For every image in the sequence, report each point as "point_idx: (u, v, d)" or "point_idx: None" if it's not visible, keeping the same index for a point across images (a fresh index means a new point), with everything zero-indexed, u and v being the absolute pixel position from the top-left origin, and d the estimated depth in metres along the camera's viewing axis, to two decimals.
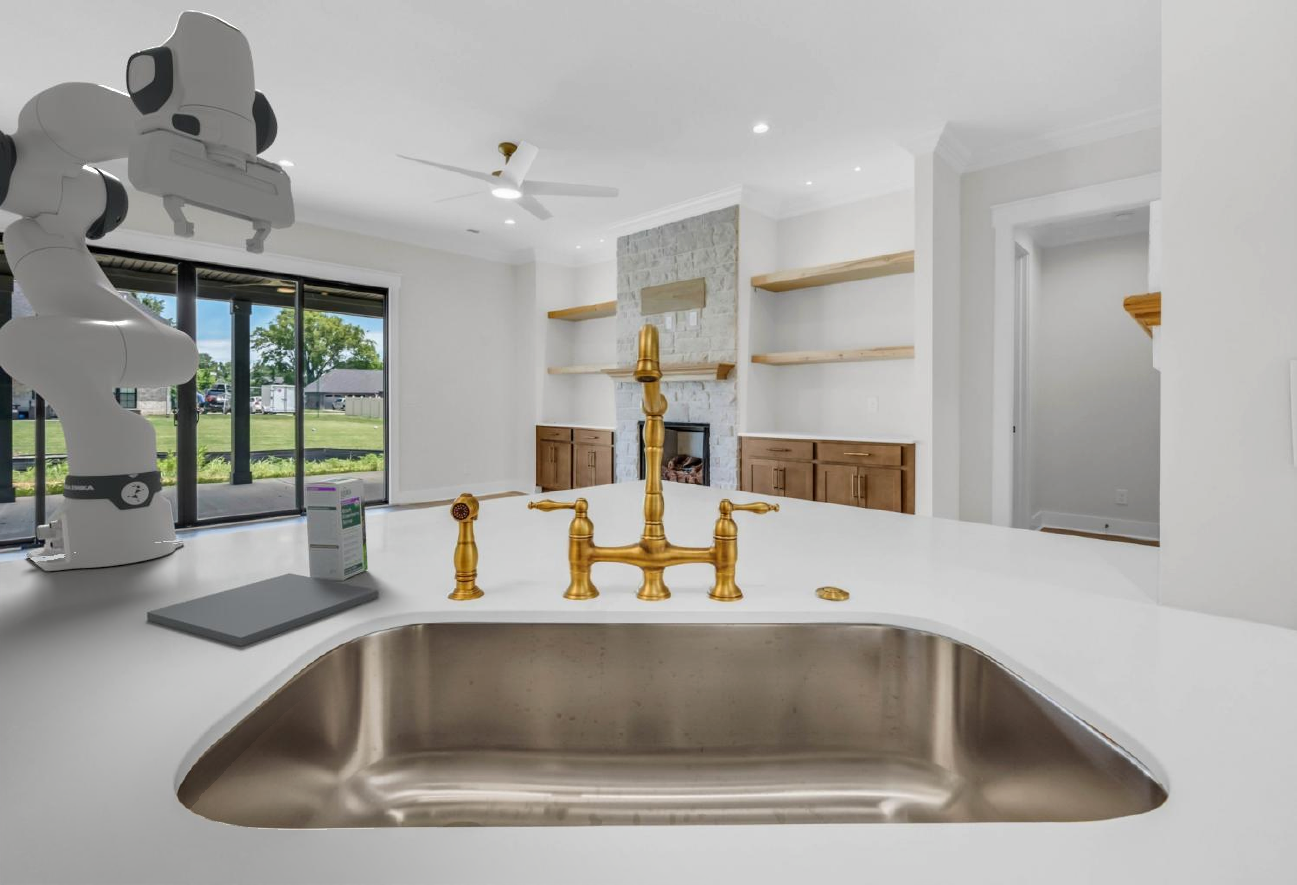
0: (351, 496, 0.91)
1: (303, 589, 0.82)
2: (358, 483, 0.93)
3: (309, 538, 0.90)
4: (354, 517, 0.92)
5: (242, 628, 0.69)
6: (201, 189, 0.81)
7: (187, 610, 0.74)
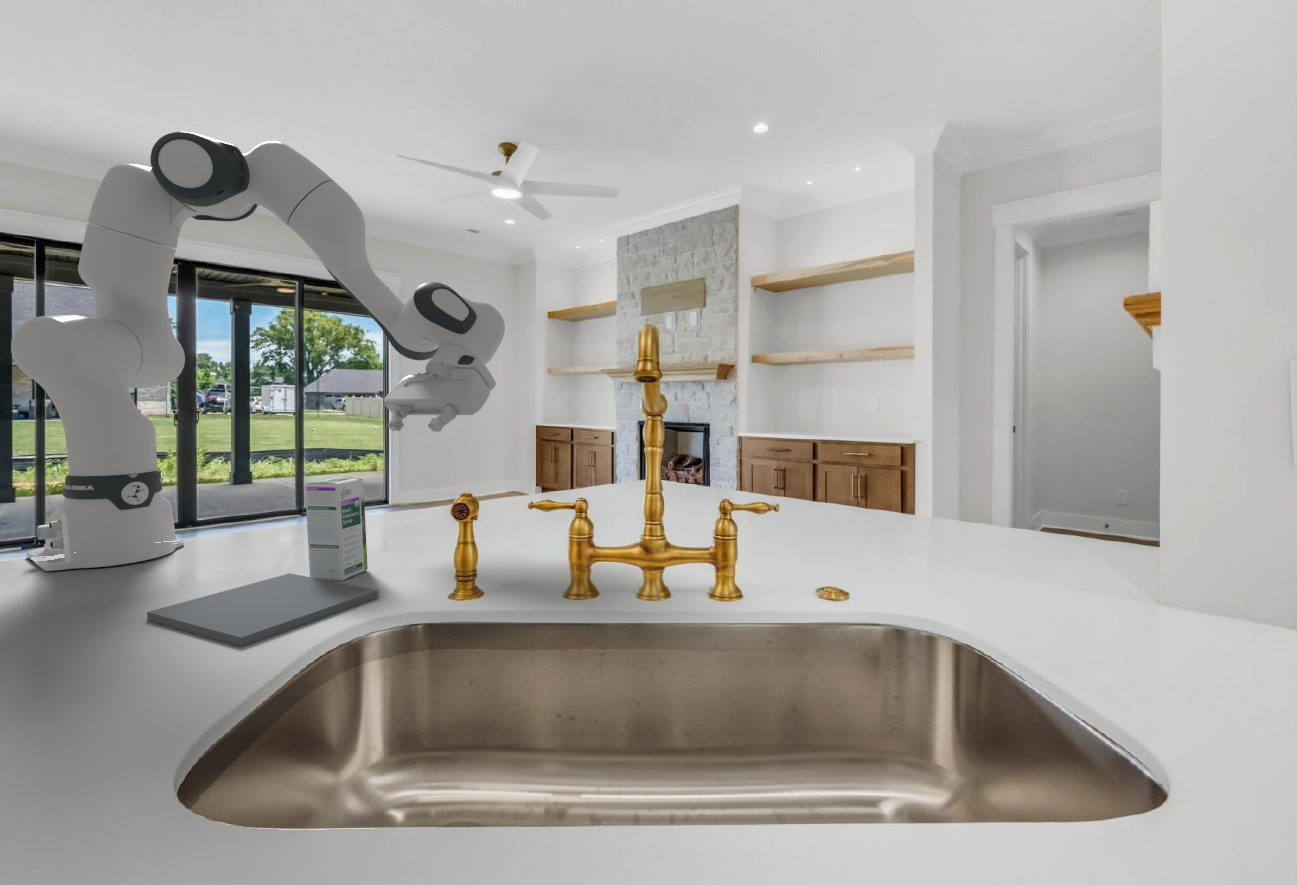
0: (351, 496, 0.91)
1: (303, 589, 0.82)
2: (358, 483, 0.93)
3: (309, 538, 0.90)
4: (354, 517, 0.92)
5: (242, 628, 0.69)
6: None
7: (187, 610, 0.74)
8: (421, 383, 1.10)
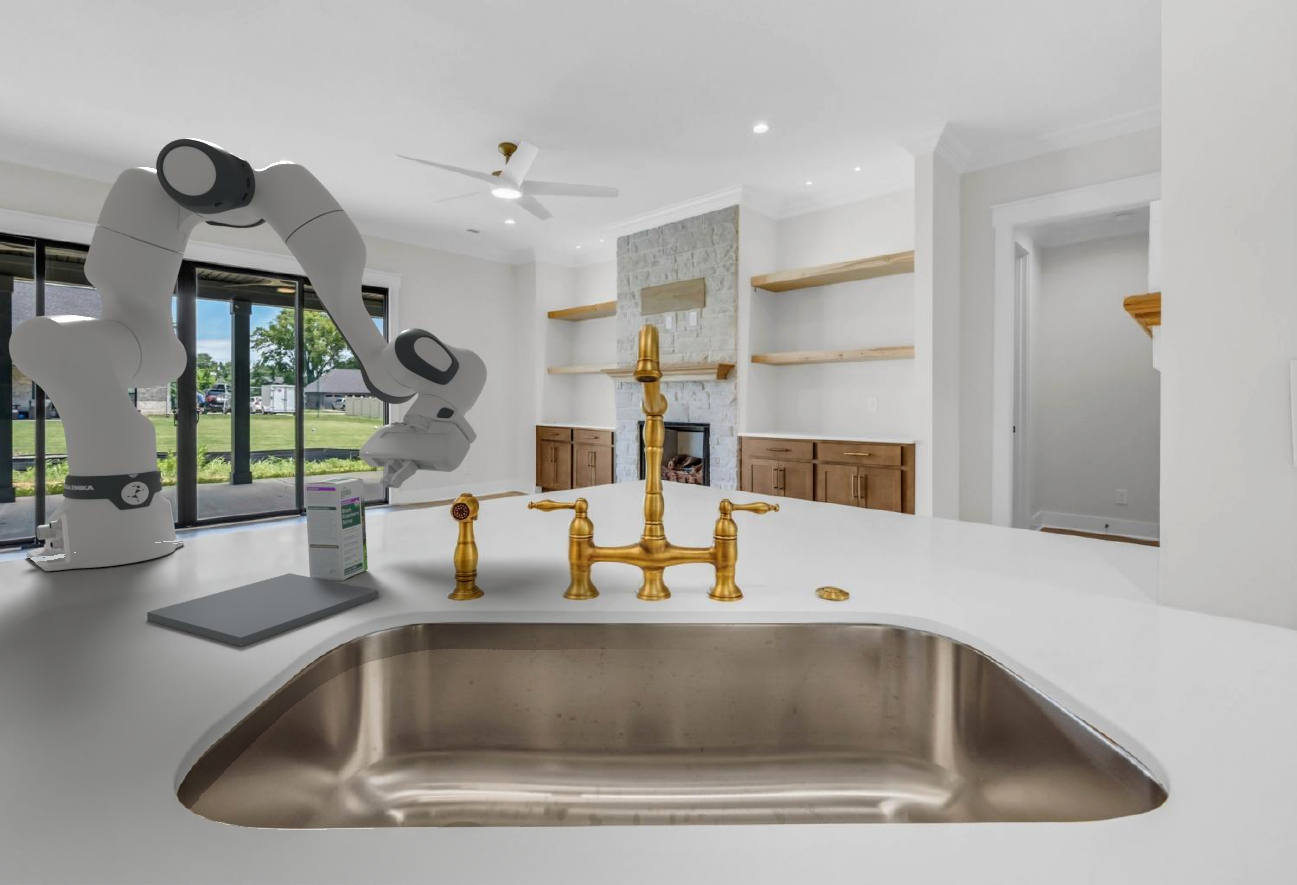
0: (351, 496, 0.91)
1: (303, 589, 0.82)
2: (358, 483, 0.93)
3: (309, 538, 0.90)
4: (354, 517, 0.92)
5: (242, 628, 0.69)
6: None
7: (187, 610, 0.74)
8: (398, 435, 1.07)
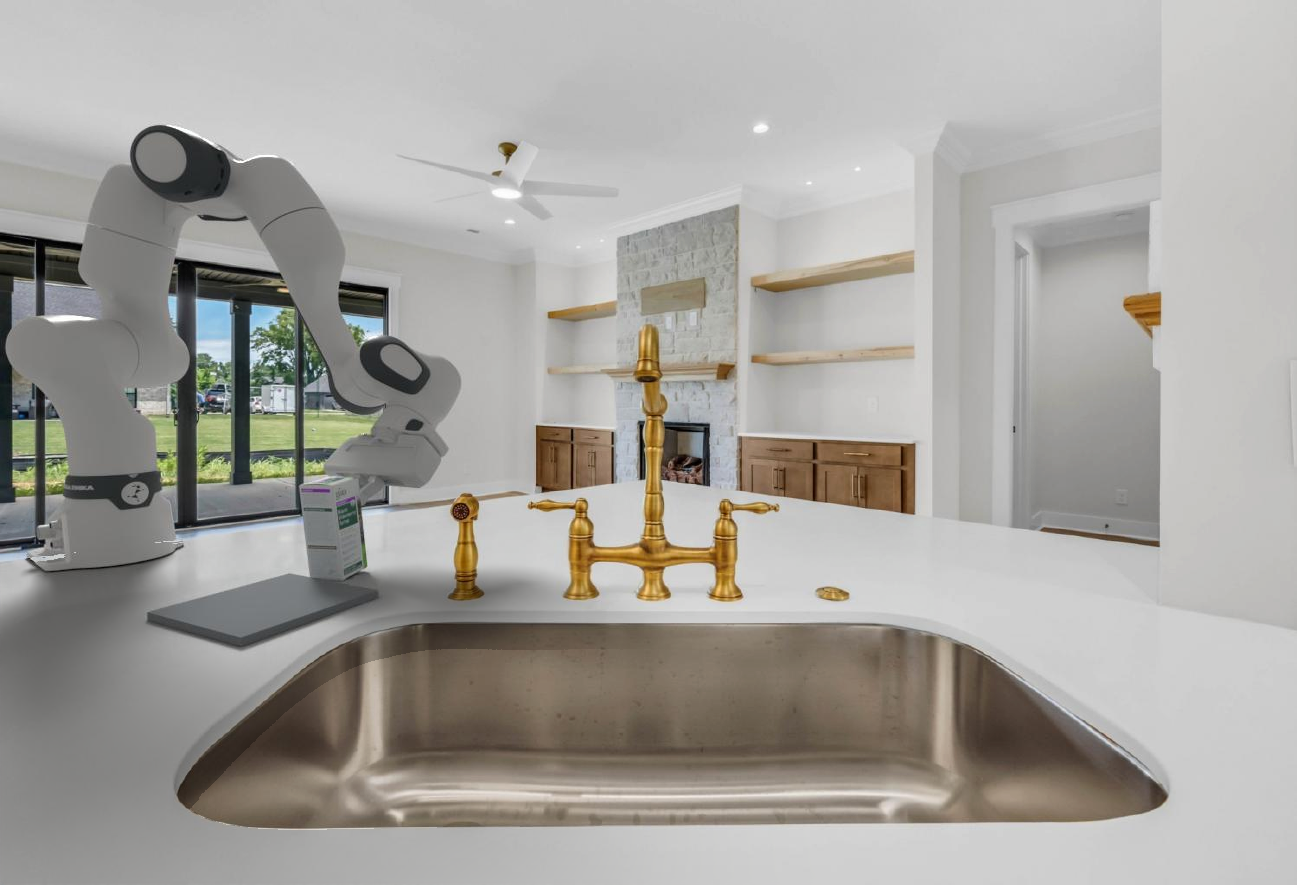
0: (346, 496, 0.90)
1: (303, 589, 0.82)
2: (353, 482, 0.92)
3: (307, 539, 0.90)
4: (351, 517, 0.91)
5: (242, 628, 0.69)
6: None
7: (187, 610, 0.74)
8: (365, 448, 1.00)
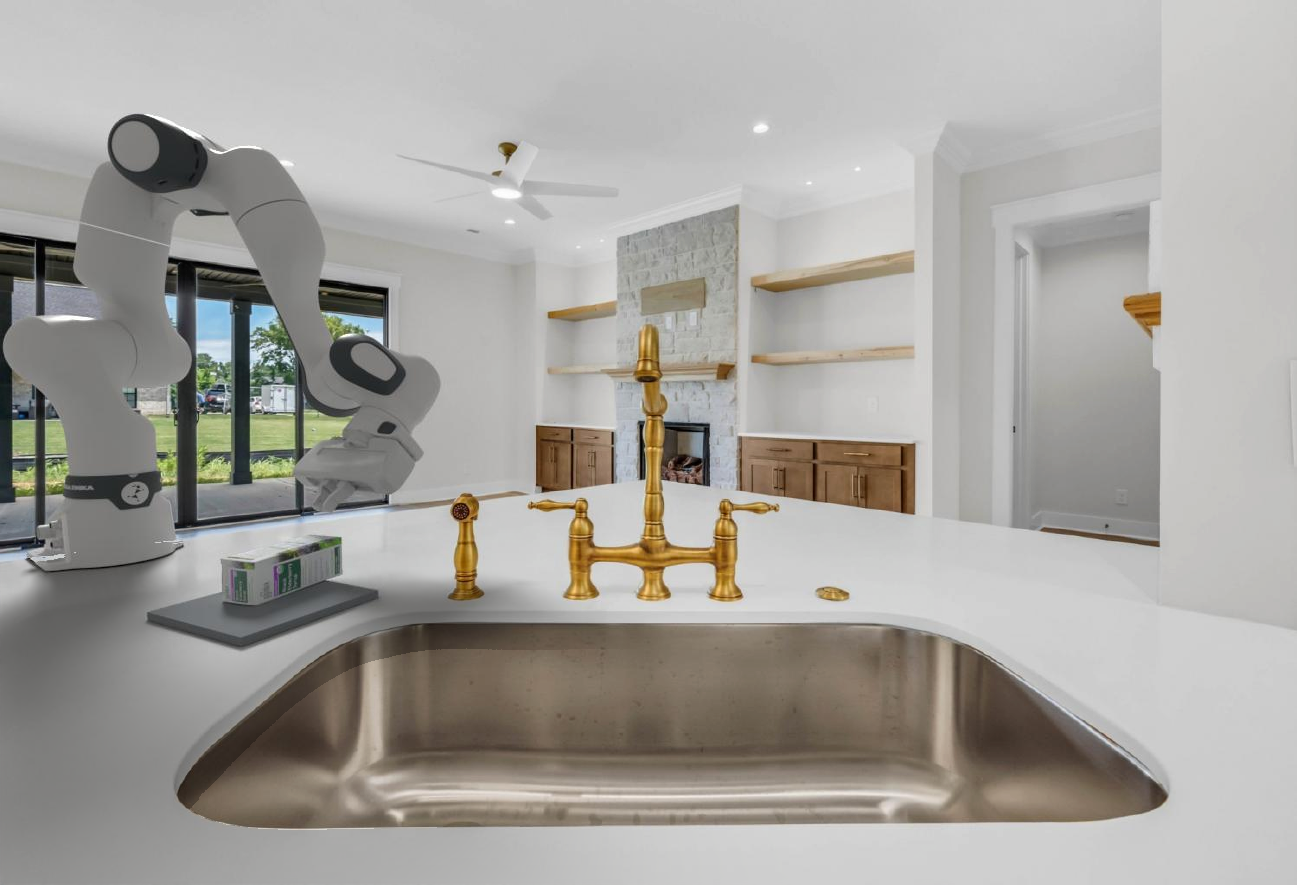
0: (271, 580, 0.78)
1: (303, 589, 0.82)
2: (258, 570, 0.76)
3: None
4: (293, 570, 0.81)
5: (242, 628, 0.69)
6: None
7: (187, 610, 0.74)
8: (336, 452, 0.96)
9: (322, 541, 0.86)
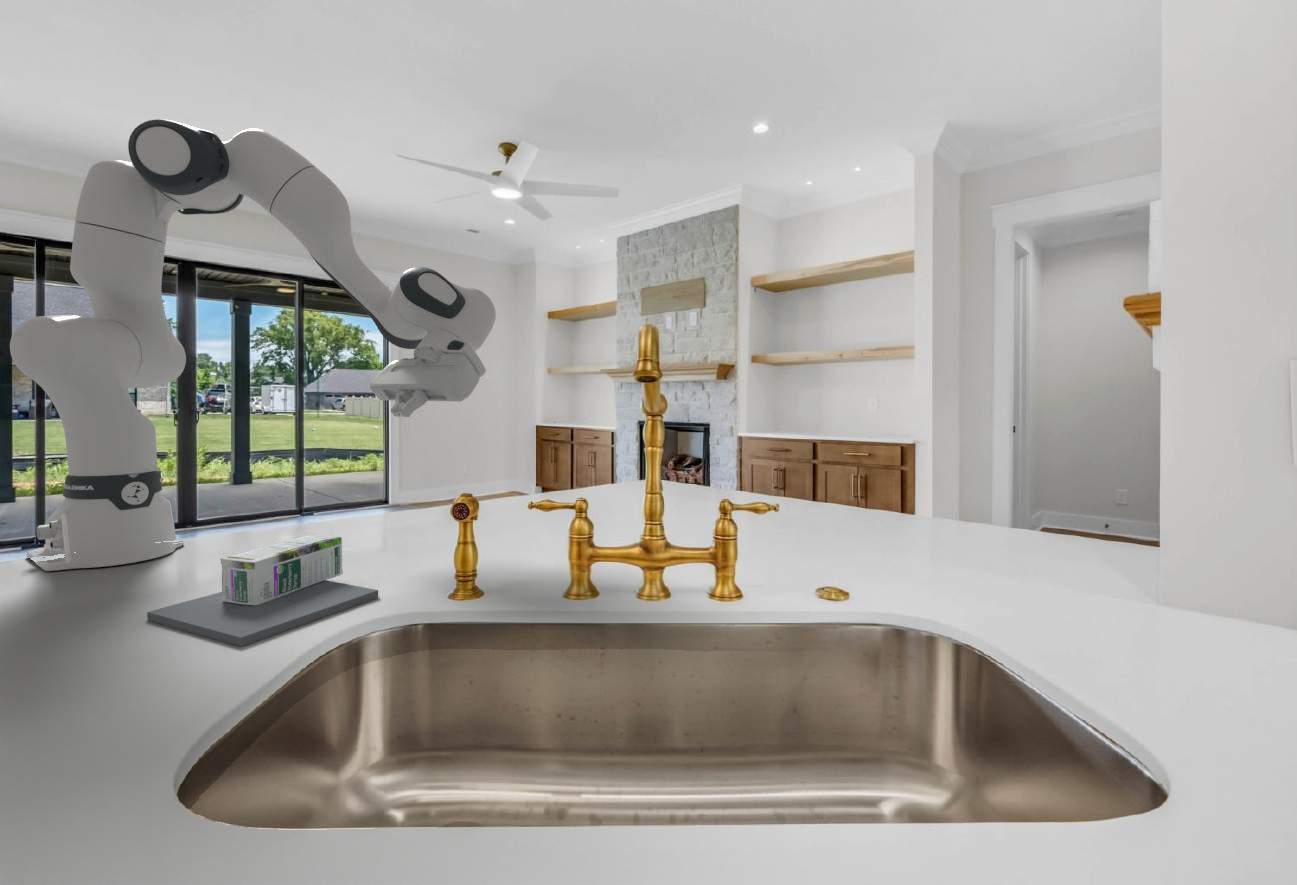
0: (271, 580, 0.78)
1: (303, 589, 0.82)
2: (258, 570, 0.76)
3: None
4: (293, 570, 0.81)
5: (242, 628, 0.69)
6: None
7: (187, 610, 0.74)
8: (409, 368, 1.08)
9: (322, 541, 0.86)
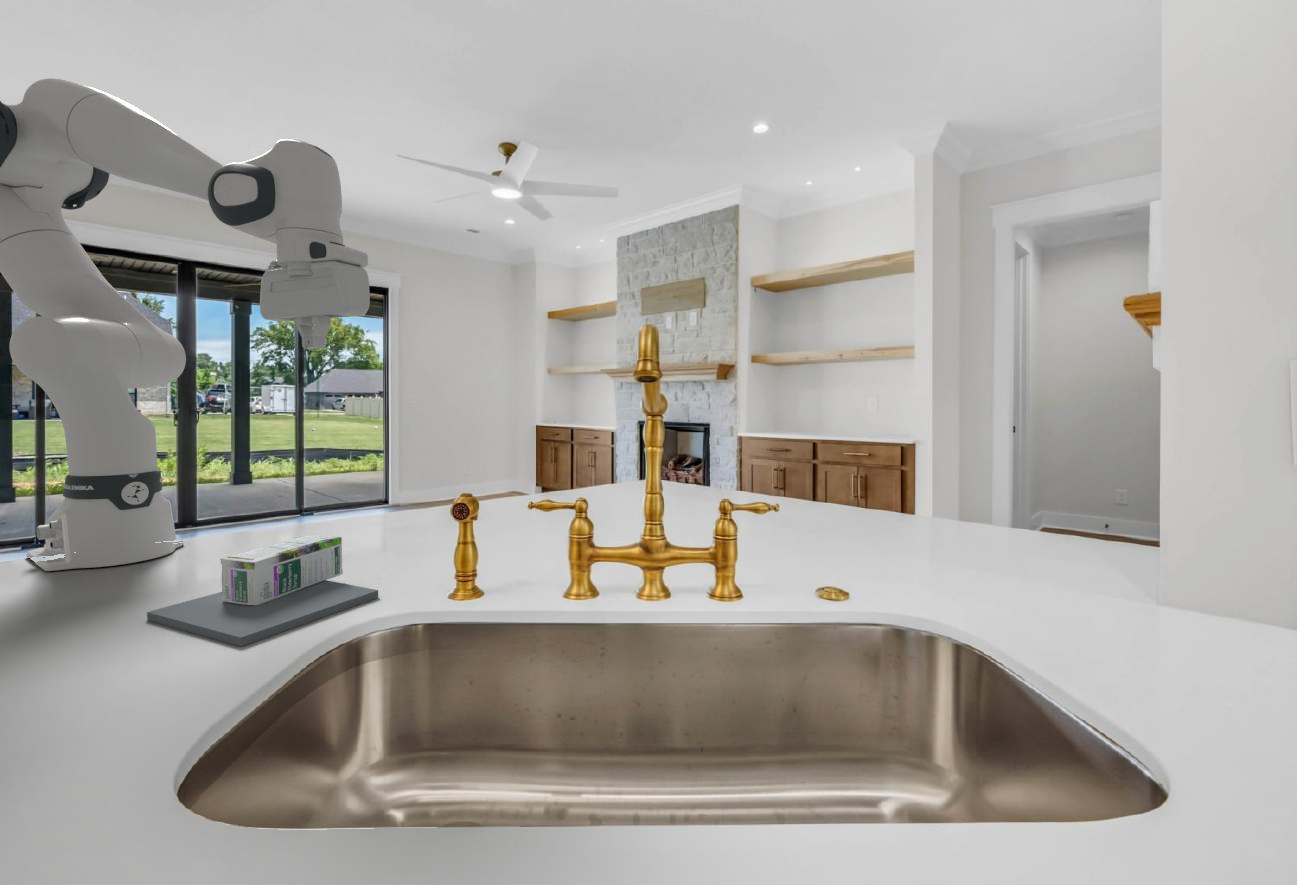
0: (271, 580, 0.78)
1: (303, 589, 0.82)
2: (258, 570, 0.76)
3: None
4: (293, 570, 0.81)
5: (242, 628, 0.69)
6: None
7: (187, 610, 0.74)
8: (287, 285, 0.93)
9: (322, 541, 0.86)
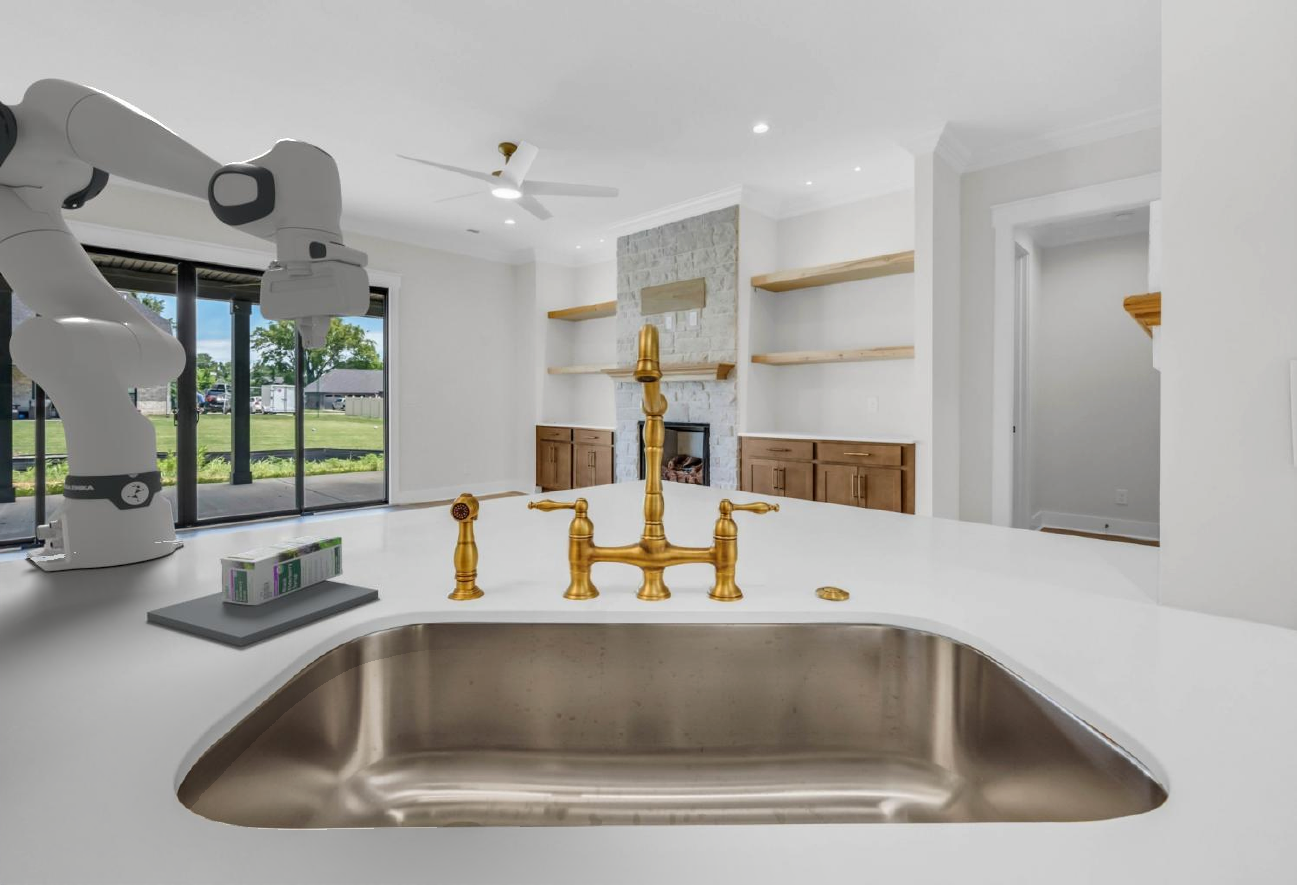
0: (271, 580, 0.78)
1: (303, 589, 0.82)
2: (258, 570, 0.76)
3: None
4: (293, 570, 0.81)
5: (242, 628, 0.69)
6: None
7: (187, 610, 0.74)
8: (287, 284, 0.93)
9: (322, 541, 0.86)
